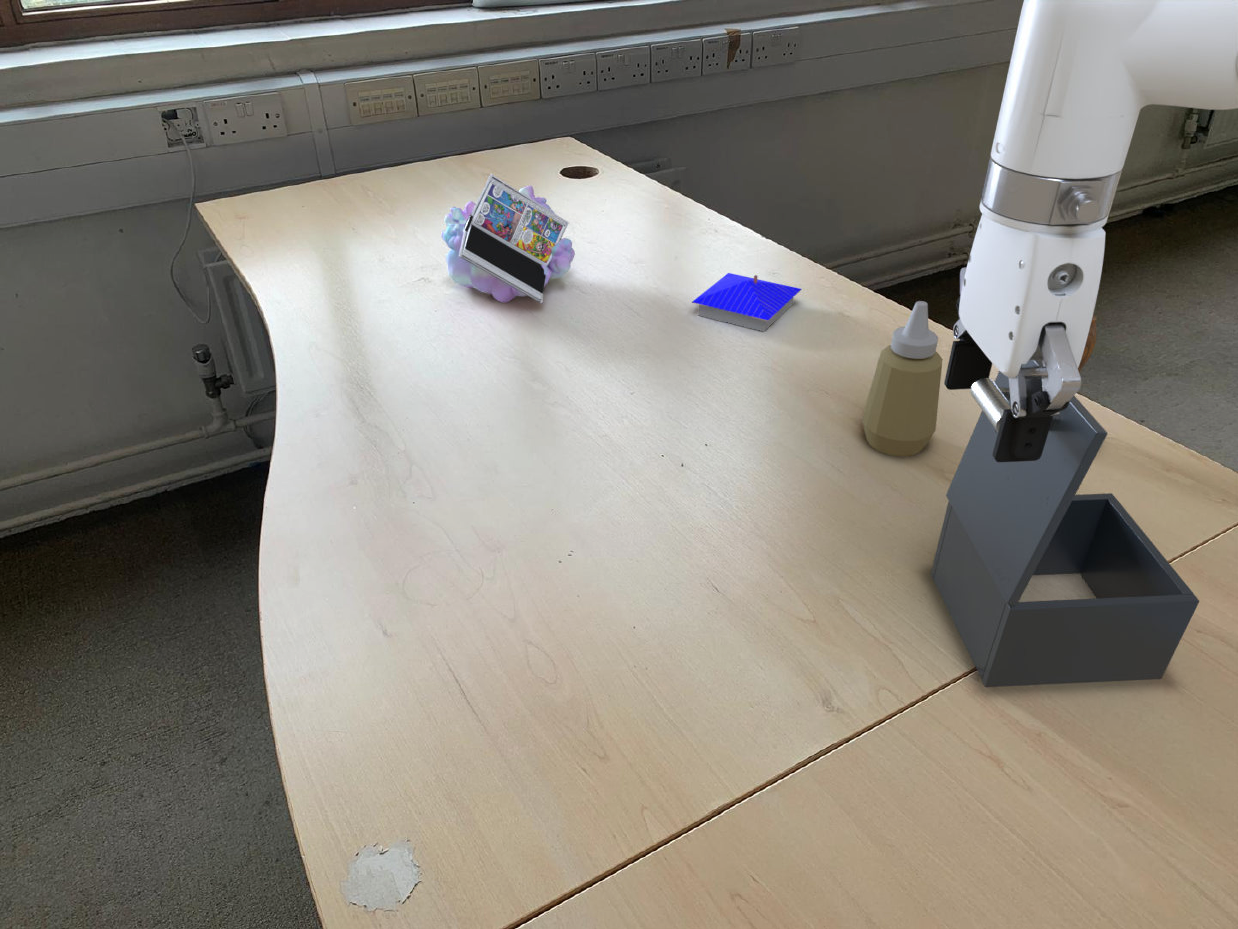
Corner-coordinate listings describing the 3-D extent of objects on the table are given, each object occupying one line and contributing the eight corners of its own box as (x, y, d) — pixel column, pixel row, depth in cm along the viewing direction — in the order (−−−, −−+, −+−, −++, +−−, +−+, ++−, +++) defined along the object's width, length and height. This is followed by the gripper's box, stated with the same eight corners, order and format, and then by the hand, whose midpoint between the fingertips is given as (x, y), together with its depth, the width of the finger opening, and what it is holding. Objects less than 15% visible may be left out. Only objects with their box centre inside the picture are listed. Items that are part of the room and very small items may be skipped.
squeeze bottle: (920, 476, 98) (952, 327, 88) (848, 456, 102) (871, 310, 91) (938, 440, 104) (970, 296, 94) (869, 422, 107) (893, 281, 97)
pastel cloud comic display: (516, 217, 153) (464, 137, 138) (617, 238, 141) (573, 154, 127) (452, 311, 147) (391, 239, 133) (553, 341, 136) (498, 265, 121)
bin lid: (1023, 337, 70) (962, 330, 69) (1108, 433, 59) (1037, 426, 58) (954, 496, 79) (899, 491, 78) (1016, 605, 68) (954, 601, 67)
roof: (766, 335, 126) (770, 300, 123) (691, 316, 131) (692, 282, 128) (800, 303, 134) (803, 269, 131) (727, 286, 139) (729, 253, 136)
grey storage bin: (1081, 575, 85) (1112, 493, 79) (1157, 687, 74) (1200, 601, 68) (928, 582, 85) (948, 499, 79) (982, 696, 73) (1010, 609, 68)
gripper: (1183, 240, 49) (1095, 489, 59) (1046, 148, 63) (993, 362, 73) (1048, 245, 49) (982, 495, 59) (941, 152, 63) (902, 366, 73)
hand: (988, 421), depth 66 cm, fingers open, 9 cm apart
